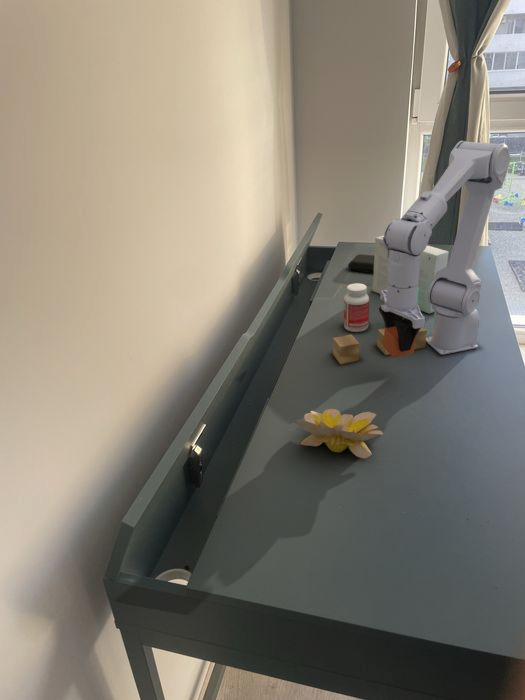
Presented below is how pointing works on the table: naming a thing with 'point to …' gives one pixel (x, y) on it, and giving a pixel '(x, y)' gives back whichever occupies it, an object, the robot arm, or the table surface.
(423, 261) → the skincare box
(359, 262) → the carrying case
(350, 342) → the block
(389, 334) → the orange block
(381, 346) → the block
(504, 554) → the table surface
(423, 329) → the block
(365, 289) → the pill bottle
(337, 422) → the decorative flower
